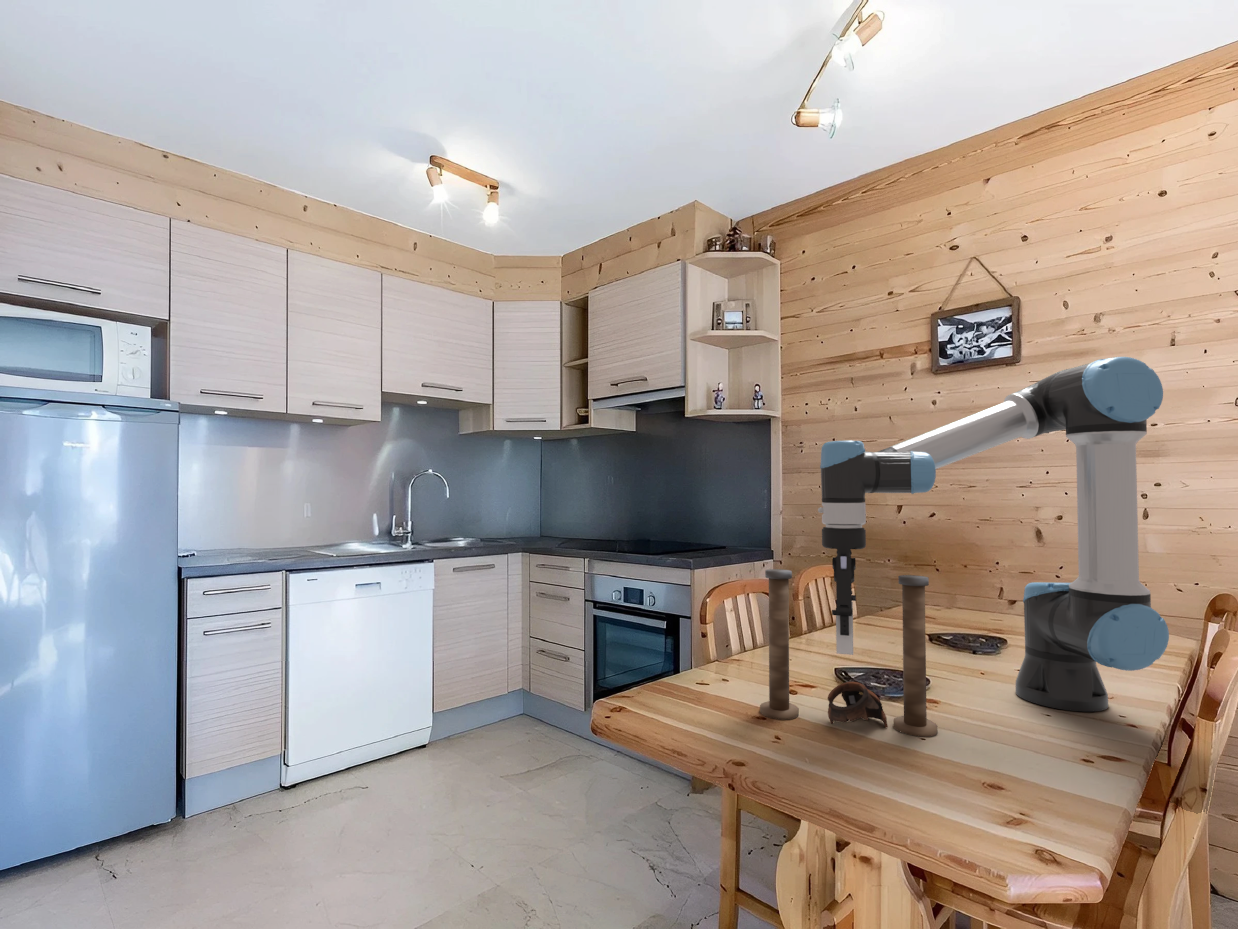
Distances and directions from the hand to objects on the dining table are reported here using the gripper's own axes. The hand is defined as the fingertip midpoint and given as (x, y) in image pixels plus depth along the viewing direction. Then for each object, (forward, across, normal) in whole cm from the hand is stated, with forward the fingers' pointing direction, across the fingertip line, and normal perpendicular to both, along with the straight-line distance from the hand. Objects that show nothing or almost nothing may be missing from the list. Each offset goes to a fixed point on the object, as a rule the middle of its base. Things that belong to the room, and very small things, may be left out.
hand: (845, 644), depth 116 cm
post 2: (+14, 0, +11) cm, 18 cm away
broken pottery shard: (+14, 0, +2) cm, 14 cm away
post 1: (+13, 0, -12) cm, 18 cm away
